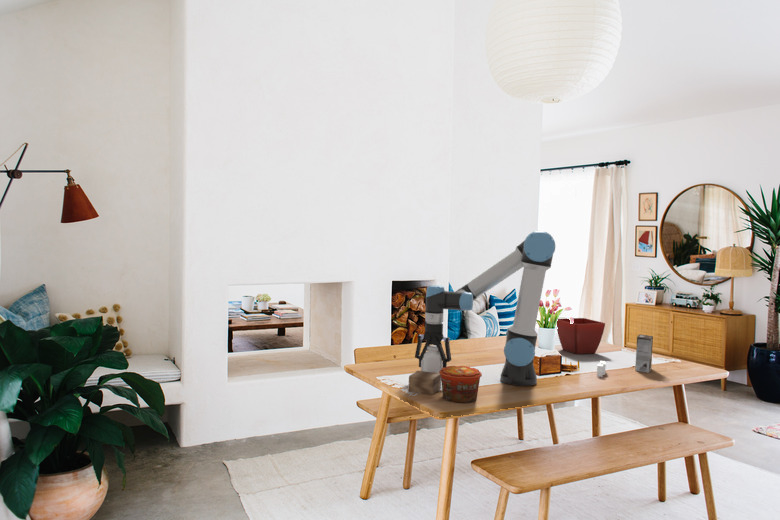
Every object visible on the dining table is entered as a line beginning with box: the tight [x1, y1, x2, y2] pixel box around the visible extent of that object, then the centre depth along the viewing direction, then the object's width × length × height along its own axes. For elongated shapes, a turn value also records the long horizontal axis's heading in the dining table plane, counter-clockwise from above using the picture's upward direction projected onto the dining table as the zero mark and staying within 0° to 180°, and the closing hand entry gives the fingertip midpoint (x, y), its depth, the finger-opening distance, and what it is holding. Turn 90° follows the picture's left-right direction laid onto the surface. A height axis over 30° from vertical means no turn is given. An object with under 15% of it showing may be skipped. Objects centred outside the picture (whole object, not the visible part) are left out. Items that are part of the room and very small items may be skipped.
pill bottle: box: [423, 345, 443, 373], centre depth 234 cm, size 8×8×15 cm
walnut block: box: [408, 370, 442, 396], centre depth 222 cm, size 10×10×6 cm
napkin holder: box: [596, 360, 607, 378], centre depth 256 cm, size 15×11×6 cm
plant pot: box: [556, 317, 606, 355], centre depth 304 cm, size 19×19×17 cm
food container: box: [439, 365, 483, 404], centre depth 212 cm, size 16×16×11 cm
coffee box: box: [634, 334, 654, 373], centre depth 266 cm, size 9×6×16 cm
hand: (432, 376), depth 234 cm, fingers closed on pill bottle, 8 cm apart
